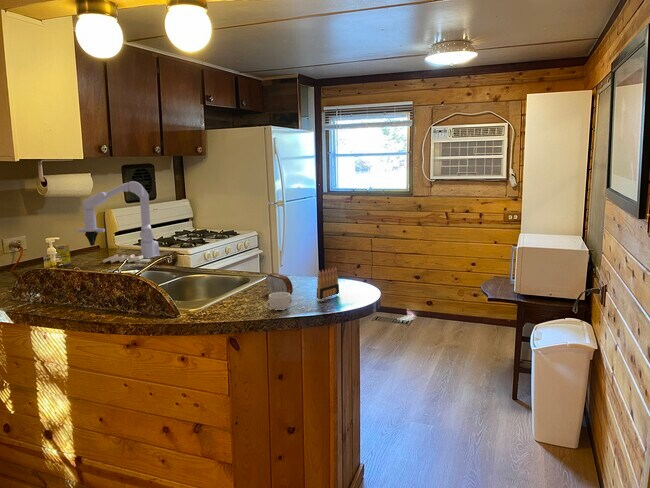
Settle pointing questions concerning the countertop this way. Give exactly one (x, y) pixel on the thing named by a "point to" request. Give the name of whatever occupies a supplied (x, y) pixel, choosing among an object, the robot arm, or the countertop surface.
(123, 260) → the domino
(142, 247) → the robot arm
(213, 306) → the countertop surface
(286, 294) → the teacup
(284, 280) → the grey brown rounded slab
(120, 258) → the domino
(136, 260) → the domino
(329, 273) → the ammunition clip
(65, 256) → the supplement box
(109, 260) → the domino
